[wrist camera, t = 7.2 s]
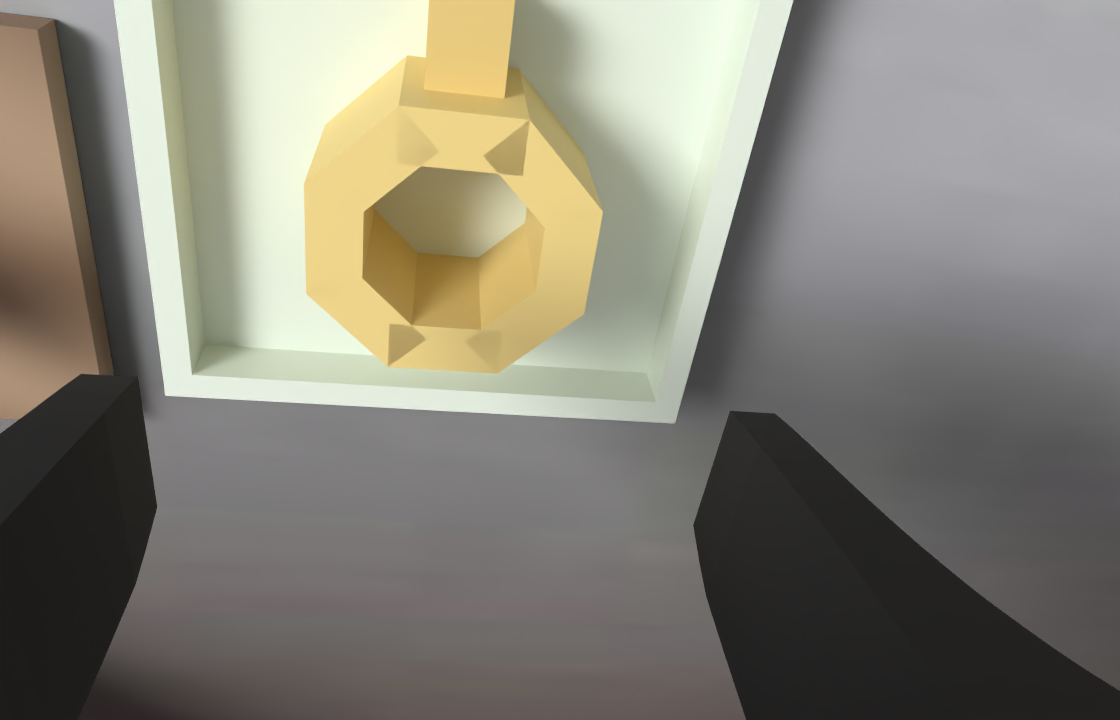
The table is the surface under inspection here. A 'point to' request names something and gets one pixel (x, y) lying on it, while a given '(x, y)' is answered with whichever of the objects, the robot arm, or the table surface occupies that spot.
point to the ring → (462, 144)
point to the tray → (437, 191)
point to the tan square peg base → (42, 228)
